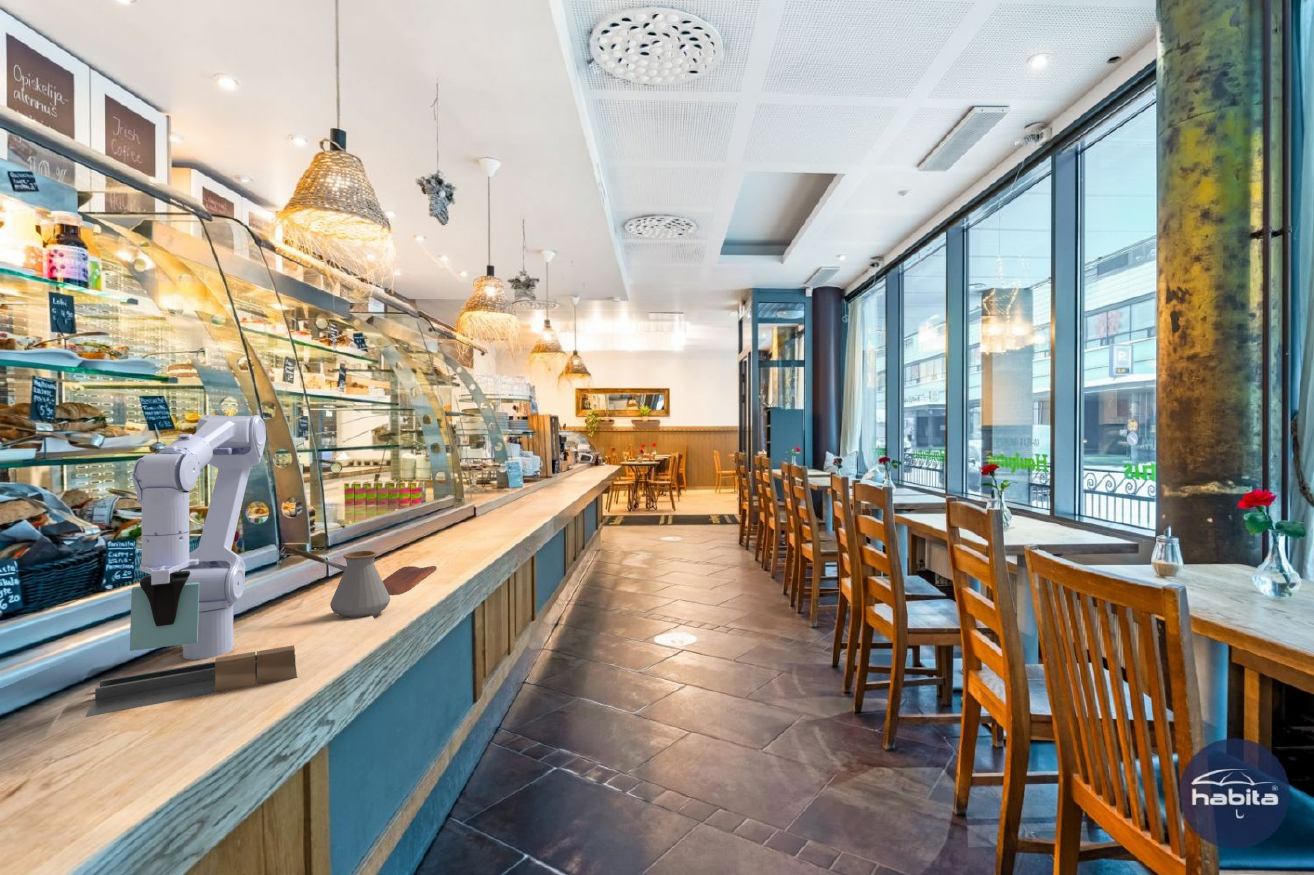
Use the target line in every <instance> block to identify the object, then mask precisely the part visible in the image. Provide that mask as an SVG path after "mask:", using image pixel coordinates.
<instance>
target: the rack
mask: <svg viewBox="0 0 1314 875" xmlns="http://www.w3.org/2000/svg"><path fill="white" fill-rule="evenodd" d="M255 666H256V685H253V686H248V687H247V688H249V687H250V688H251V687H255V686H260V685H262V684H258V685H257V654H255ZM296 666H297V664H296V662H295V678H291V679H290V680H292V679H298V675H297V673H298V672H297V667H296ZM288 680H289V679H285V680H280V681H275V682H274V683H278V682H282V681H288ZM271 683H273V682H269V683H264V684H263V685H265V684H271ZM244 688H246V687H242V688H237V689H236V690H238V689H244ZM233 690H235V689H231V690H226V691H221V692H220V693H223V692H227V691H233ZM218 693H219V692H216V688H215V661H208V662H203V663H199V664H193V665H192V664H191V665H186V666H179V667H174V668H168V669H162V670H155V671H149V672H143V673H137V674H132V675H125V676H118V677H112V678H106V679H100V681H99V686H98V687H95V688H94V694H95V695H94V696H95V700H94V701H93V703H92V705H91V706H90V708H89V710H88V712H87V713H86V715H85V718H88V717H94V716H99V715H103V714H104V715H105V714H109V713H116V712H120V711H126V710H131V709H137V708H142V707H148V706H153V705H159V704H164V703H169V702H174V701H180V700H187V699H191V698H196V697H201V696H207V695H212V694H218Z"/></svg>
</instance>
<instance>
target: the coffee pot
mask: <svg viewBox="0 0 1314 875" xmlns="http://www.w3.org/2000/svg"><path fill="white" fill-rule="evenodd" d="M283 550H284V551H283ZM286 551H290V552H292V554H297V555H299V556H301V557H303V558H306V559H309V560H312V561H315V562H318V563H321V564H325V565H328V566H330V567H333V568H336V569H338V570H340V571H343V573H342V575H341V578H340V580H339V582H338V584H337V587H336V590H335V591H334V594H333V596H332V599H331V601H330V603H329V604H330V609H331V610H332V612H333V613H334V614H336V615H337V616H339V617H340V618H341V619H342V620H344V619H352V618H357V617H358V618H360V617H366V616H371V615H372V617H373V618H375V617H378V616H379V615H381V613H382V611H384V610H385V609H387V607H388V605H389V604H390V601H391V595H389V594H388V592H387V590H386V588H385V585H384V583H383V579H382V578H381V575H380V573H379V571H378V569H377V567H376V565H375V559H376V556H377V555H378V552H377V551H373V550H359V551H352V552H347V553H345V554H343V556H342V557H343V559H345V563H346V565H343V564H339V563H338V562H337V563H336V562H335V561H334V562H333V561H331V560H328V559H326V558H323V557H321V556H318V555H316V554H314V553H311V552H309V551H306V550H302V549H298V547H292V546H290V545H283V547H282V548H281V550H280V551H279V555H281V556H282V555H284V554H285V552H286Z"/></svg>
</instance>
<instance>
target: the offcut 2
mask: <svg viewBox="0 0 1314 875" xmlns="http://www.w3.org/2000/svg"><path fill="white" fill-rule="evenodd" d="M295 650H296V649H295V645H294V644H293V645H287V646H282V647H276V648H270V649H269V648H268V649H263V650H257V651H256V655H257V685H256V686H259V685H258V684H261V685H265V684H264V683H267V684H270V683H269V682H272V683H276V682H275V681H278V682H281V681H280V680H283V681H286V680H285V679H288V680H292V679H291V678H294V679H296V678H295V663H296V654H295Z"/></svg>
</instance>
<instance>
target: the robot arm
mask: <svg viewBox="0 0 1314 875" xmlns="http://www.w3.org/2000/svg"><path fill="white" fill-rule="evenodd" d="M266 432H267V430H266V424H265V421H264V420H263V418H262V417H261V416H260V415H259V414H257V415H256V414H255V415H210V414H204V415H202V416H201V418H199V419H198V421H197V424H196V431H195V433H194V434H192V433H181V434H180V435H178V436H177V439H175V440H174V441H173V442H171V443H170V444H168V445H167V446H166V447H164V448H163V449H162V450H160V451H159V452H158V453H152V454H151V453H149V454H145V455H143V457H140V458H138V459H137V460H136V462H135V464H134V466H133V471H132V473H131V476H132V477H131V479H132V483H133V486H134V488H135V491H136V501H137V503H138V504H139V505H141V564H139V571H141V572H143V573H146V574H149V575H148V576H145V577H144V578H142V579H140V581H139V587H141V588H142V589H143V591H144V592H145V594H146V595H147V598H148V600H149V602H150V606H151V610H152V614H153V618H154V622H155V624H156V626H165V625H172V624H174V621H175V618H176V614H177V608H178V602H179V598H180V594H181V591H182V589H183V587H184V585H185V583H194V582H199V613H198V641H197V643H192V644H183V645H182V657H183V658H184V659H187V660H204V659H205V660H206V659H210V658H211V659H212V658H217V657H220V656H222V655H224V654H225V655H226V654H228V653H229V652H232V651H233V649H234V648H235V647H234V646H235V644H234V637H235V636H234V633H235V632H234V604H235V603H236V602H238V601H239V599H240V598H241V597H242V595H243V594H244V590H245V584H246V580H245V579H246V576H245V574H246V567H247V566H246V563H245V561H244V559H243V558H242V557H241V556H240V555H238V554H237V553H235V551H233V550H232V549H233V545H234V544H233V543H234V540H235V535H236V532H237V526H238V523H239V520H240V519H239V517H240V514H241V510H242V505H243V501H244V498H245V492H246V489H247V484H248V480H249V477H250V473H251V469H252V468H253V467H254V466H256V465H258V464H260V463H261V460H262V457H263V454H264V450H265V446H266V445H265V444H266V441H267V440H266V439H267V433H266ZM206 465H209V466H210V465H211V466H212V467H214V468H216V469H217V470H218V471H217V474H216V478H215V482H214V485H213V489H212V493H211V498H210V501H209V504H208V505H209V506H208V509H207V513H206V516H205V520H204V523H203V524H204V525H203V528H202V532H201V536H200V538H199V543H198V547H196V548H195V549H194V550H191V551H190V491H192V490H193V489H194V488H195V486H196V484H197V480H198V478H199V476H200V474H201V470H203V468H204V467H206Z"/></svg>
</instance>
